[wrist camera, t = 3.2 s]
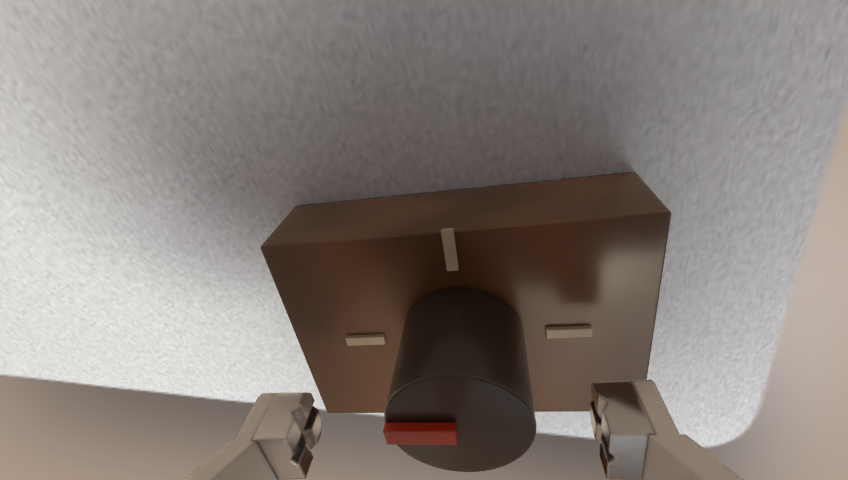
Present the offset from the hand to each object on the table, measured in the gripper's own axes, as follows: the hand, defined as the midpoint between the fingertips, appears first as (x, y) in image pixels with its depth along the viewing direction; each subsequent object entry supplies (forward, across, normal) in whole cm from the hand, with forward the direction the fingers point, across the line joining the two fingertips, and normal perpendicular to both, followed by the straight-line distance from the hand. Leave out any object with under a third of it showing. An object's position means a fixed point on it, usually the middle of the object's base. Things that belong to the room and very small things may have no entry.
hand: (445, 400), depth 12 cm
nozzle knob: (+2, 0, 0) cm, 2 cm away
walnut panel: (+6, 0, 0) cm, 6 cm away
